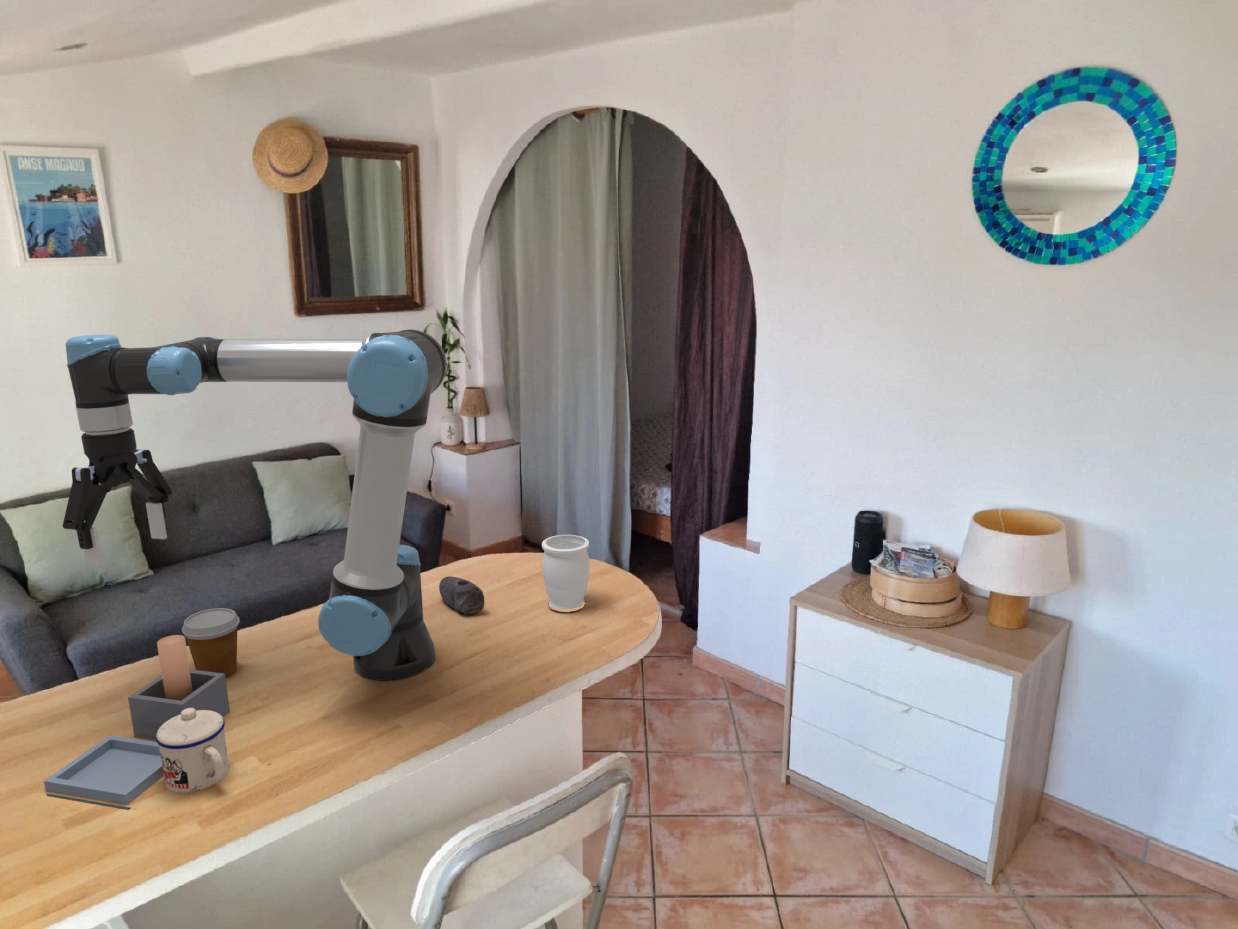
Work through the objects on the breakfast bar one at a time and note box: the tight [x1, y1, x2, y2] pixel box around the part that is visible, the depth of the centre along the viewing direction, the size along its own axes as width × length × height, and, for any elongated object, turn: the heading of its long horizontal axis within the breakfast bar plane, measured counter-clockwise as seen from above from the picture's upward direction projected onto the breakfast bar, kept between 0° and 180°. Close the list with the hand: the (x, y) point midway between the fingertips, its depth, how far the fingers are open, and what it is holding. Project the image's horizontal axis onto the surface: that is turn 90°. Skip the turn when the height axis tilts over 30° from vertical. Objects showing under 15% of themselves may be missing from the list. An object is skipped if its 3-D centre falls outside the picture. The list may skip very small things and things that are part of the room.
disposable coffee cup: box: [181, 607, 241, 679], centre depth 153 cm, size 10×10×12 cm
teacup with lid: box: [155, 708, 230, 793], centre depth 122 cm, size 12×9×12 cm
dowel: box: [156, 634, 193, 701], centre depth 136 cm, size 4×4×15 cm
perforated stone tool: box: [438, 575, 485, 615], centre depth 183 cm, size 15×5×7 cm, turn 41°
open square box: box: [127, 668, 231, 741], centre depth 137 cm, size 10×10×8 cm
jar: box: [541, 534, 590, 610], centre depth 183 cm, size 11×10×15 cm
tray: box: [43, 734, 164, 811], centre depth 125 cm, size 14×12×2 cm
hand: (128, 551), depth 142 cm, fingers open, 13 cm apart
